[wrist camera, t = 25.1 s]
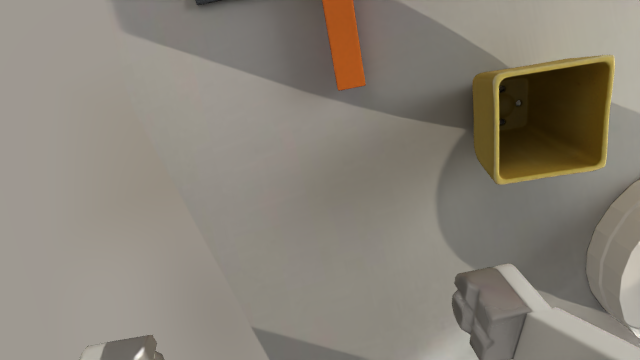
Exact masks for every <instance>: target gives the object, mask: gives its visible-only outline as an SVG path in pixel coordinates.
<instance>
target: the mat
mask: <svg viewBox="0 0 640 360" xmlns="http://www.w3.org/2000/svg"><path fill="white" fill-rule="evenodd" d="M195 1H196V4H197V5H201V4H206V3H211V2H215V1H220V0H195Z"/></svg>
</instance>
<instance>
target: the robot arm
mask: <svg viewBox="0 0 640 360" xmlns="http://www.w3.org/2000/svg"><path fill="white" fill-rule="evenodd" d="M454 284H455V285H456V287H457V289H458V290H457V291H456V292H455V293H454V294H453V298H452V307H453V312H454V315H455V318H456V320H457V322H458V324H459V326H460V328H461V329H462V330H464V331H465V332H467V333H469V334H470V335H471V337H470V345H471V346H472V348H473V350H474V352H475V353H476V355H477V357H478V358H479V360H511V359H513V360H640V348H639V347H637V346H635V345H633V344H631V343H629V342H627V341H625V340H623V339H620V338H618V337H616V336H614V335H612V334H610V333H608V332H606V331H604V330H602V329H600V328H598V327H596V326H594V325H592V324H590V323H588V322H586V321H584V320H582V319H580V318H578V317H576V316H574V315H572V314H570V313H568V312H566V311H564V310H562V309H560V308H558V307H554V308H551V307H550V306H549V305H548V304H547V302H546V301H545V300H544V299H543V298H542V297H541V296H540V294H539V293H538V292H537V291H536V290H535V289H534V288H533V287H532V285H531V284H530V283H529V282H528V281H527V280H526V279H525V277H524V276H523V275H522V274H521V273H520V272H519V271H518V269H517V268H516V267H515V266H514V265H512V264H510V263H509V264H504V265H499V266H494V267H487V268H483V269H478V270H473V271H468V272H464V273H459V274H457V276H456V277H455V283H454ZM156 345H157V343H156V341H155V339H154V338H153V335H147V336H142V337H136V338H130V339H124V340H118V341H112V342H107V343H102V344H97V345H91V346H87V347H86V348H85V350H84V351H83V352H82V354H81V356H80V359H79V360H164V358H163V355H162V354H161V353H158V352H156V351H155V350H156Z"/></svg>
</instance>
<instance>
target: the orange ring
mask: <svg viewBox="0 0 640 360" xmlns="http://www.w3.org/2000/svg"><path fill="white" fill-rule="evenodd" d="M322 3H323V9H324V14H325V20H326V26H327V31H328V37H329V43H330V49H331V54H332V60H333V66H334V71H335V77H336V83H337V89H338V91H339V90H345V89H350V88H355V87H360V86H365V85H366V84H365V78H364V71H363V64H362V58H361V51H360V44H359V37H358V31H357V24H356V17H355V11H354V4H353V0H322Z"/></svg>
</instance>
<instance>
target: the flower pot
mask: <svg viewBox="0 0 640 360" xmlns="http://www.w3.org/2000/svg"><path fill="white" fill-rule="evenodd" d="M614 71H615V62H614V56H613V55H602V56H592V57H581V58H570V59H563V60H557V61H552V62H546V63H540V64H535V65H529V66H523V67H517V68H510V69H504V70H497V71H490V72H484V73H480V74H478V75H476V76H475V77H474V79H473V114H474V148H475V153H476V156H477V159H478V160H479V162H480V163H481V165H482V166H483V167H484V169H485V170H486V171H487V173H488V174H489V175H490V177H491V178H492V179H493V180H494V182H495V183H496V184H509V183H516V182H521V181H527V180H534V179H540V178H546V177H553V176H559V175H566V174H574V173H581V172H588V171H594V170H597V169H600V168H603V167H604V166H605V164H606V157H607V144H608V143H607V141H608V126H609V113H610V104H611V96H612V88H613V79H614ZM500 86H504V88H505V89H504V91H503V92H500V91H499V87H500ZM518 100H520V101H521V104H520V105H519V106H516V102H517V101H518ZM501 119H503V120H504V124H502V125H500V124H499V121H500V120H501Z"/></svg>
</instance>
